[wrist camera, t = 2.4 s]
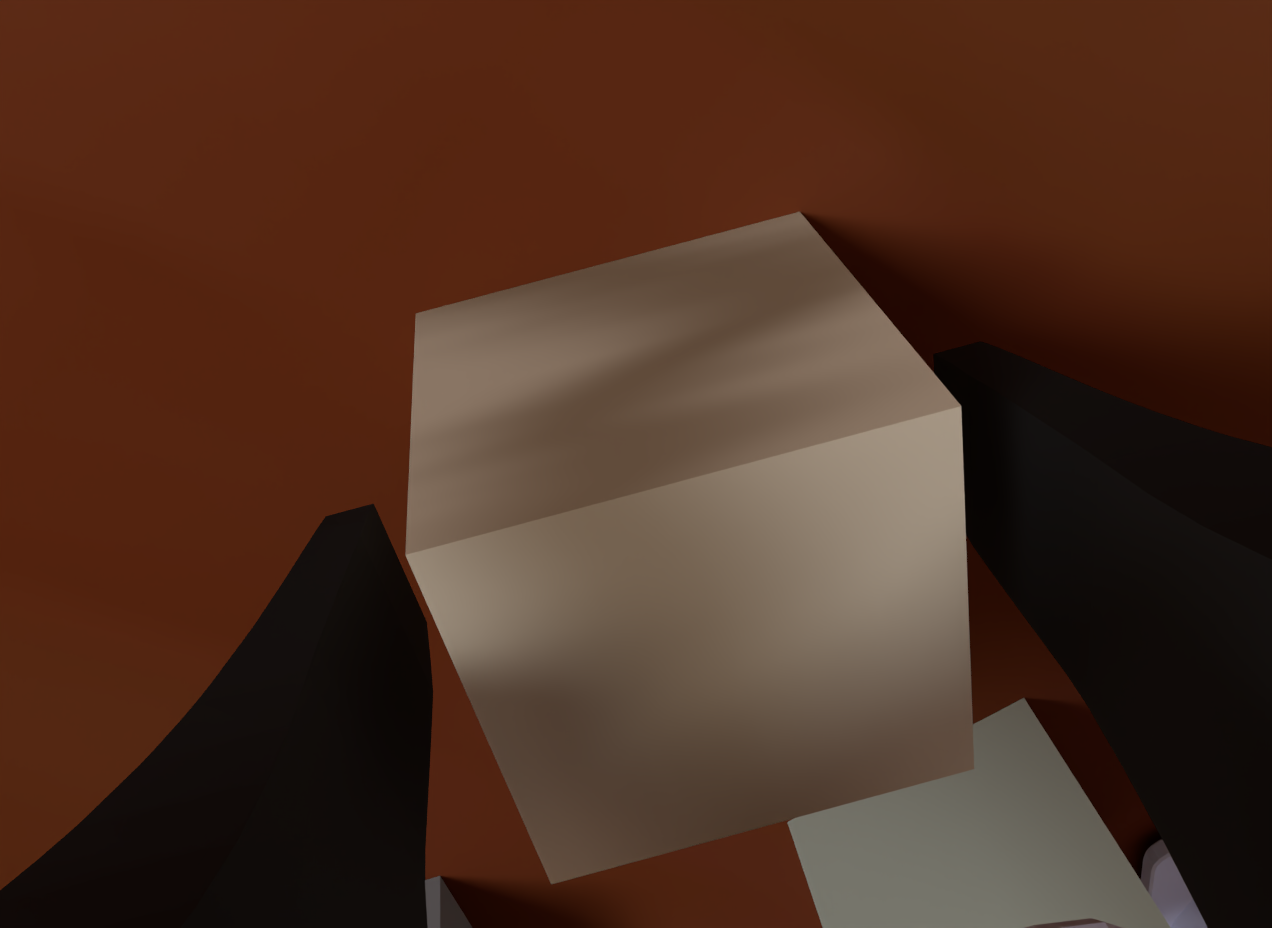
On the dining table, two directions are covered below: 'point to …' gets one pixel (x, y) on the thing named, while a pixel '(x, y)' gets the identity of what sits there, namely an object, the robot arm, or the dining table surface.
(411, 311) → the dining table surface
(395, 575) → the robot arm
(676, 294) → the maple cube
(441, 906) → the base block
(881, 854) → the sage block
